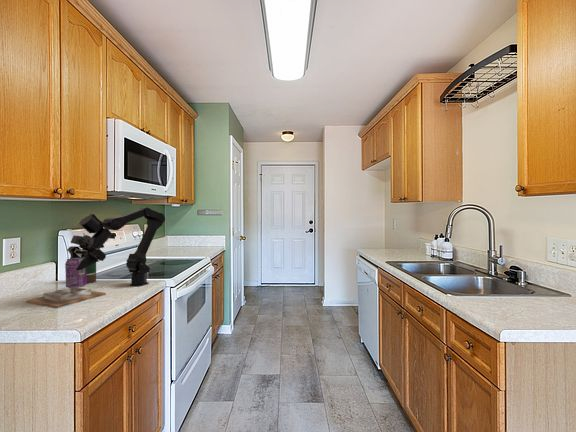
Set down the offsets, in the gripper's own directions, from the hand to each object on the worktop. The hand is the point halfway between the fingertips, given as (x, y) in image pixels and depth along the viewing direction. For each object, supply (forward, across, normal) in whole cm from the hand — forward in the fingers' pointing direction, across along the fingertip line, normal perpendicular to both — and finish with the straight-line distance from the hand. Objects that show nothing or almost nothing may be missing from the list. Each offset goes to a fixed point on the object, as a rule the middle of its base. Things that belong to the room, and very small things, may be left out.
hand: (72, 269), depth 124 cm
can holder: (+8, -7, +11) cm, 15 cm away
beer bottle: (-7, -30, +26) cm, 40 cm away
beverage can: (+5, +1, +6) cm, 8 cm away
